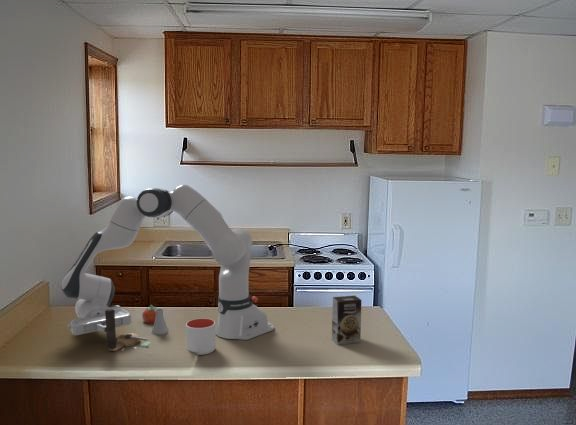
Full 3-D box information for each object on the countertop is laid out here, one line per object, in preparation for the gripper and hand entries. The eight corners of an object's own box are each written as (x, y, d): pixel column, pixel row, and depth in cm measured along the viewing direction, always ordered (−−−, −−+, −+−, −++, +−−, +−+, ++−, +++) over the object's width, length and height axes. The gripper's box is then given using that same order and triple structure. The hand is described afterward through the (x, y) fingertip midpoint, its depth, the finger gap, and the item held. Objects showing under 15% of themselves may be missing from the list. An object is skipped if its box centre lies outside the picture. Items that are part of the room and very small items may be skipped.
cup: (185, 346, 188) (184, 319, 187) (213, 343, 191) (212, 317, 190) (188, 358, 179) (187, 329, 177) (218, 354, 182) (217, 326, 180)
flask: (165, 339, 195) (163, 313, 193) (146, 338, 196) (145, 312, 195) (173, 332, 202) (172, 307, 200) (155, 331, 203) (154, 306, 202)
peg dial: (126, 336, 194) (124, 298, 192) (154, 340, 190) (152, 301, 188) (99, 351, 181) (97, 310, 179) (128, 356, 176) (126, 314, 174)
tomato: (159, 327, 207) (158, 307, 206) (140, 327, 207) (139, 307, 206) (163, 320, 214) (163, 301, 213) (145, 320, 214) (144, 301, 213)
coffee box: (337, 345, 189) (338, 301, 187) (331, 338, 196) (331, 296, 193) (361, 342, 192) (362, 299, 190) (354, 336, 198) (355, 294, 196)
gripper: (65, 314, 185) (75, 326, 174) (123, 304, 197) (136, 314, 186) (66, 332, 186) (76, 345, 175) (124, 320, 198) (137, 331, 187)
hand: (107, 329), depth 180 cm, fingers closed
